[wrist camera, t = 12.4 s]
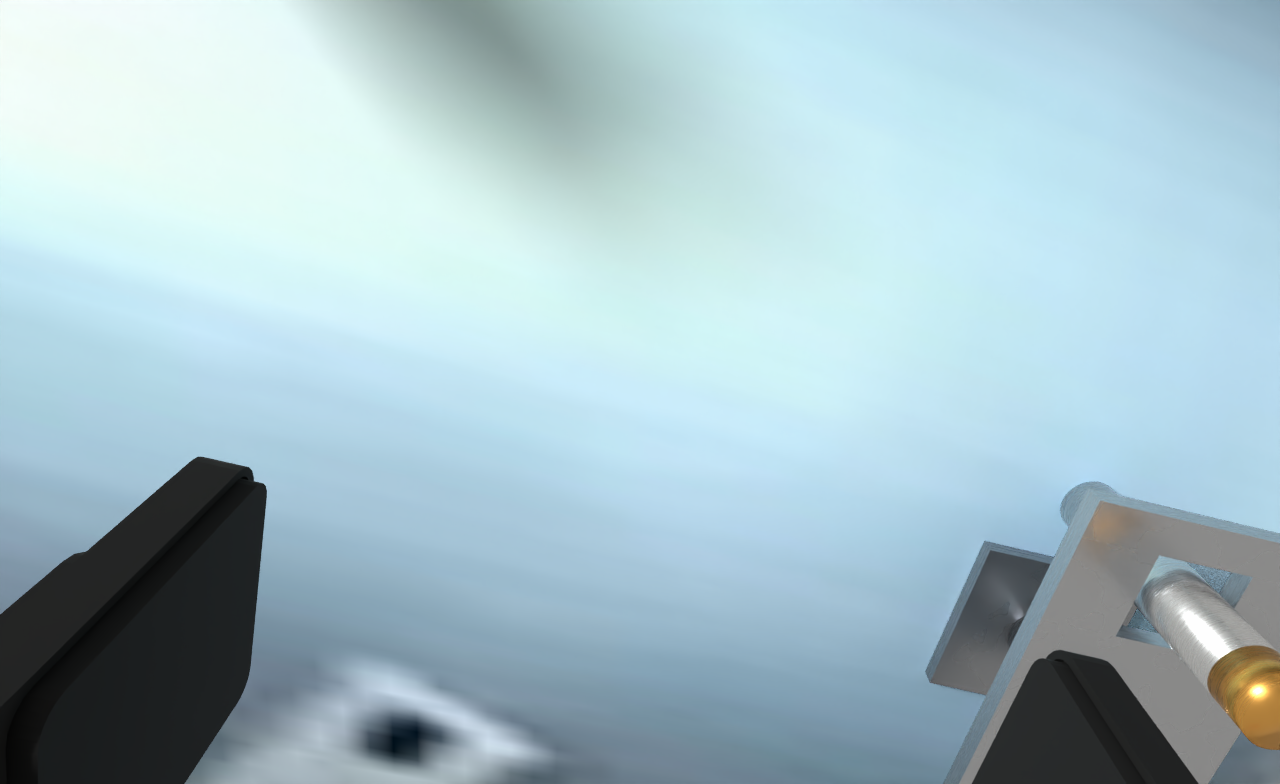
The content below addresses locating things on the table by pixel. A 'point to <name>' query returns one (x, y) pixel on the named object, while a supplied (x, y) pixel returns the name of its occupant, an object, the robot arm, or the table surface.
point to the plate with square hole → (1103, 619)
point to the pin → (1208, 639)
